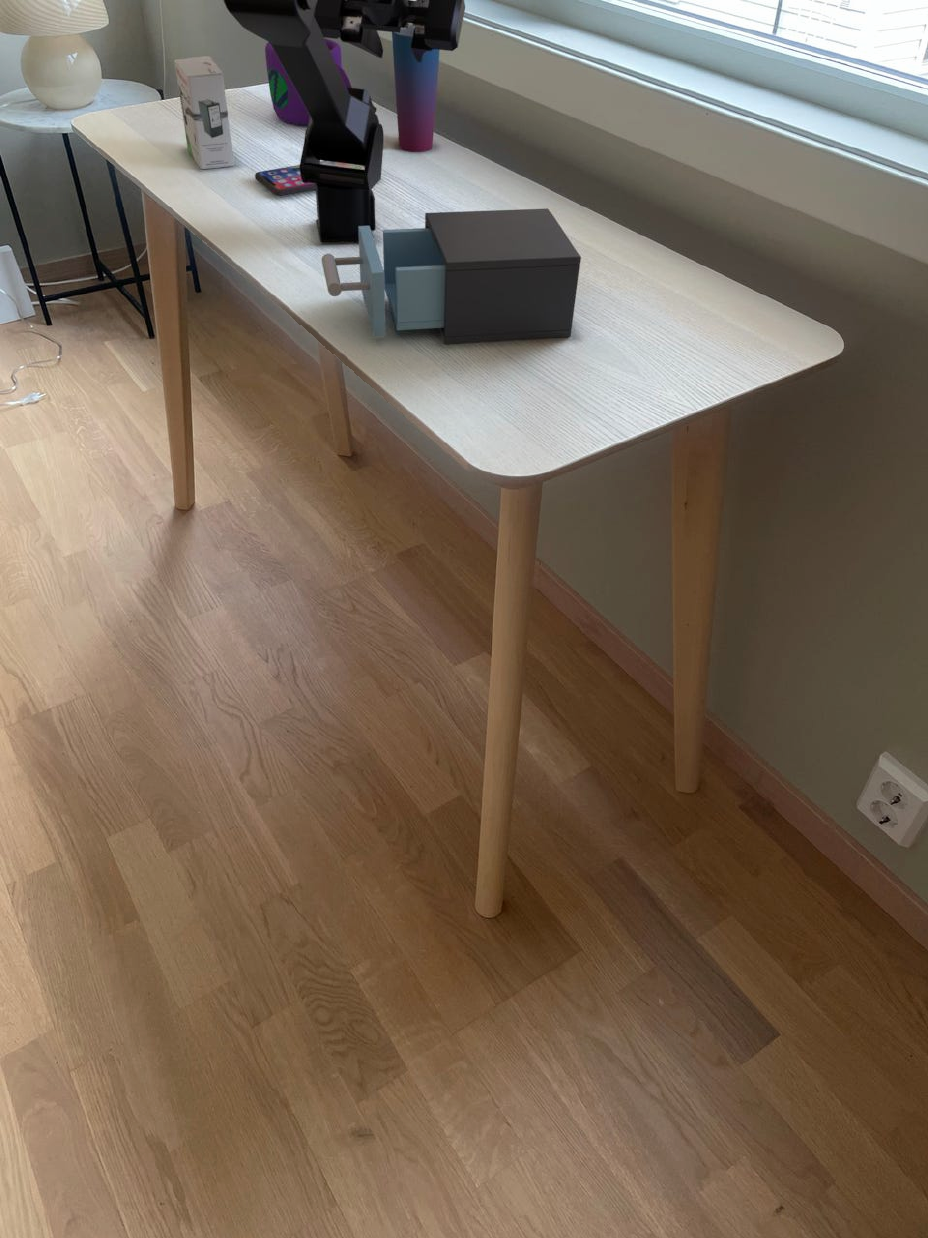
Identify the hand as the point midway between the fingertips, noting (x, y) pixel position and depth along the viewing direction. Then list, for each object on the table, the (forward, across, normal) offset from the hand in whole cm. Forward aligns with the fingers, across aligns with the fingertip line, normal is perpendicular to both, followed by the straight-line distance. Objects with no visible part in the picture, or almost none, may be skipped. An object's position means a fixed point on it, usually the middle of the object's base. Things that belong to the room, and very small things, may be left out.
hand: (400, 56), depth 123 cm
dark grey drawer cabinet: (-19, -22, +39) cm, 49 cm away
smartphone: (+2, +9, +17) cm, 19 cm away
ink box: (+5, +26, +15) cm, 30 cm away
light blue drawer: (-23, -13, +41) cm, 49 cm away
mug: (+19, +17, 0) cm, 26 cm away
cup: (+16, 0, +4) cm, 16 cm away
